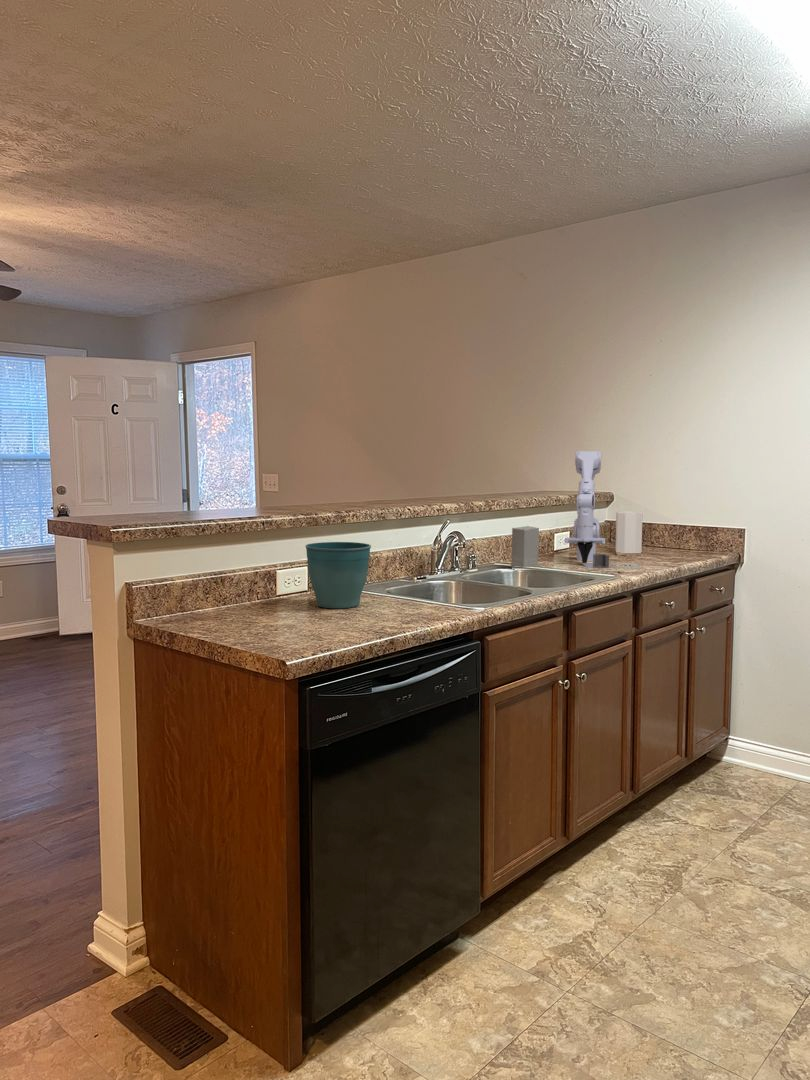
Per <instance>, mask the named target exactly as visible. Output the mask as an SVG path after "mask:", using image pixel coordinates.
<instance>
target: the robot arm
mask: <svg viewBox="0 0 810 1080" xmlns="http://www.w3.org/2000/svg"><path fill="white" fill-rule="evenodd" d="M574 454H575V458H574V462H575V463H574V465H575V471H576V473H577V474H579V475H581V479H580V480H579V481H578V491H577V495H576V513H577V518H576V519H575V520H574V525H573V537H565V538H564V544H576V560H577V561H581V562H582V563H588V562H593V554H597V553H596V551H597V549H596V548H597V547H596V546H597V544H604V545H605V544H606V537H600V521H599V519H598V518H596V517H595V516H594V510H595V506H596V495H595V482H594V480H595V477H596V475H598V474H599V473H600V472H601V469H602V467H601V466H602V451H601V450H576V451H575V452H574ZM582 563H581V564H582Z"/></svg>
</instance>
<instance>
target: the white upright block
mask: <svg viewBox="0 0 810 1080" xmlns="http://www.w3.org/2000/svg"><path fill="white" fill-rule="evenodd" d="M615 513H616V514H615V516H616V518H615V548H614V549H615V550H614V551H616V552H621V553H641V552H642V548H643V547H642V544H643V517H644V515H643V512H642V511H635V510H631V511H628V510H627V511H625V510H623V511H622V510H621V511H616V512H615ZM642 553H643V552H642Z"/></svg>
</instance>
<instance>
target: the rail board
mask: <svg viewBox="0 0 810 1080" xmlns="http://www.w3.org/2000/svg"><path fill="white" fill-rule="evenodd" d="M581 564H582V565H583V566H584V568H586V569H623V570H624V569H627V570H628V569H643V570H644V568H643V567H641V566H640V565H639V564H637V563H627V562H626V563H614V562H612V563H610V562H609V567H605V566H604V565H598V567H597V566H594V565H593V562H587V563H581ZM622 565H624V566H627V565H629V566H632V567H623V566H622Z"/></svg>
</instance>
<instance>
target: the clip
mask: <svg viewBox="0 0 810 1080" xmlns="http://www.w3.org/2000/svg"><path fill="white" fill-rule="evenodd" d="M592 563H593V565H594V566H597V567H598V565H604V566H605V567H609V563H610V555H609V554H607V553H596V554H593V561H592Z"/></svg>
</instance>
